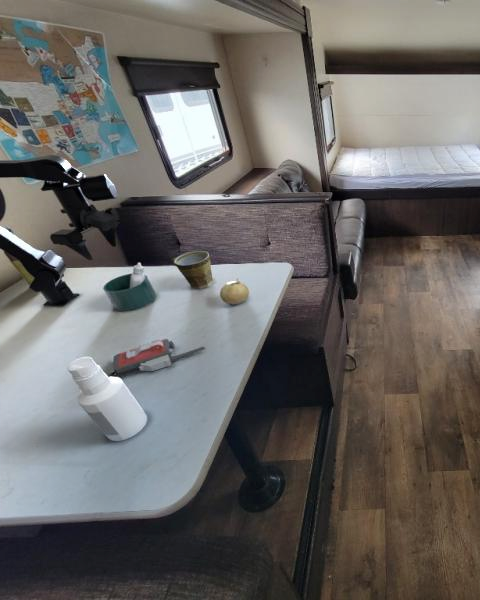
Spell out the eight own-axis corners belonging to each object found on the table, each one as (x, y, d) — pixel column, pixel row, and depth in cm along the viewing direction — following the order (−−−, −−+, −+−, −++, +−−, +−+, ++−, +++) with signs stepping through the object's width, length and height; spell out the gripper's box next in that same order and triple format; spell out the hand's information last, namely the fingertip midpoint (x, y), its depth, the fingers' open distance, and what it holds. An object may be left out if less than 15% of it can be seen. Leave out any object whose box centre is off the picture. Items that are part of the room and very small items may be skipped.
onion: (234, 311, 101) (227, 291, 97) (218, 303, 104) (210, 283, 100) (256, 298, 106) (250, 278, 102) (240, 291, 110) (233, 272, 106)
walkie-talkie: (111, 387, 77) (207, 354, 85) (101, 374, 74) (201, 341, 83) (114, 363, 83) (203, 335, 92) (105, 350, 81) (197, 322, 89)
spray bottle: (120, 413, 71) (72, 351, 61) (154, 411, 71) (112, 348, 61) (99, 443, 65) (42, 379, 55) (136, 440, 66) (86, 376, 55)
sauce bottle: (59, 280, 117) (22, 226, 105) (40, 289, 112) (-2, 234, 100) (45, 278, 118) (6, 224, 107) (25, 287, 113) (-18, 232, 102)
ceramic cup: (224, 277, 117) (215, 251, 111) (206, 293, 109) (195, 266, 103) (191, 274, 119) (180, 249, 113) (170, 290, 111) (158, 263, 105)
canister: (106, 310, 101) (93, 291, 98) (132, 291, 111) (122, 272, 107) (140, 312, 101) (129, 292, 97) (164, 292, 110) (155, 273, 106)
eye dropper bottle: (121, 298, 102) (124, 263, 98) (135, 291, 107) (138, 257, 103) (136, 303, 103) (140, 268, 99) (149, 296, 108) (153, 262, 104)
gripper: (72, 216, 88) (103, 268, 96) (125, 193, 103) (148, 240, 112) (33, 215, 88) (67, 267, 97) (91, 193, 104) (116, 240, 113)
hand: (103, 253), depth 105 cm, fingers open, 9 cm apart
